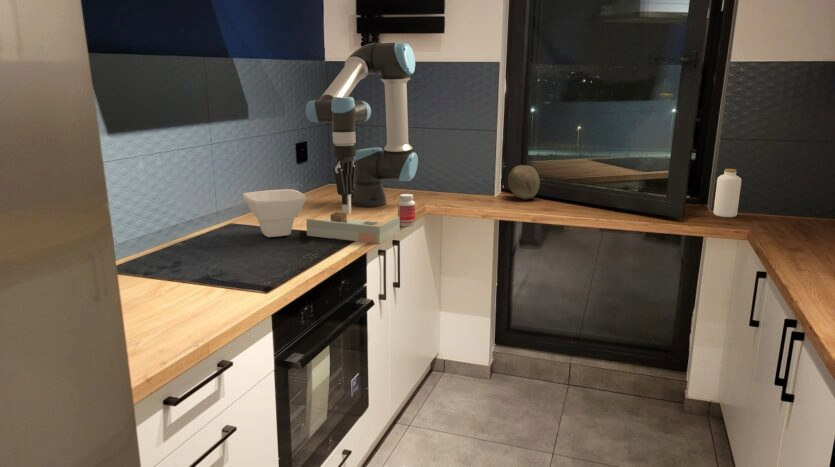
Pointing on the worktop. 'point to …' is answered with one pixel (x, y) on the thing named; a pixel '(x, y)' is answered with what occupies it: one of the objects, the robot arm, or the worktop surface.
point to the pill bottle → (406, 210)
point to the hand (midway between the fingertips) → (346, 213)
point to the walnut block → (339, 217)
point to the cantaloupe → (524, 182)
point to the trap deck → (354, 229)
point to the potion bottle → (727, 194)
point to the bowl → (275, 209)
